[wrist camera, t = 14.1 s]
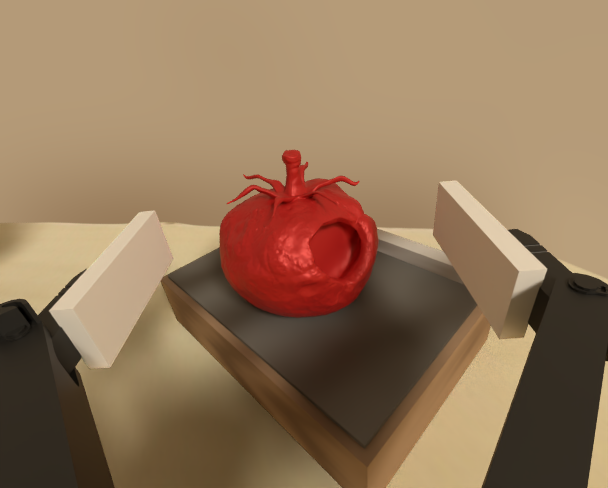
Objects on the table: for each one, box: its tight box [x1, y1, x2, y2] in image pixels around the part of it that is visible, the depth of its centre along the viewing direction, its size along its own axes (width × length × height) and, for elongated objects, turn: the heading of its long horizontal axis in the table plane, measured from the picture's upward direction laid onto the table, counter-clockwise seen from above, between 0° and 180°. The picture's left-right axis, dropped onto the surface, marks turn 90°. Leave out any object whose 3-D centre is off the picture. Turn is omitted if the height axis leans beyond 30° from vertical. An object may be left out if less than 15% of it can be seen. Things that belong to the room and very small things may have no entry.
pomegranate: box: [219, 150, 379, 318], centre depth 21 cm, size 10×10×9 cm
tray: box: [161, 229, 491, 488], centre depth 25 cm, size 20×14×6 cm
